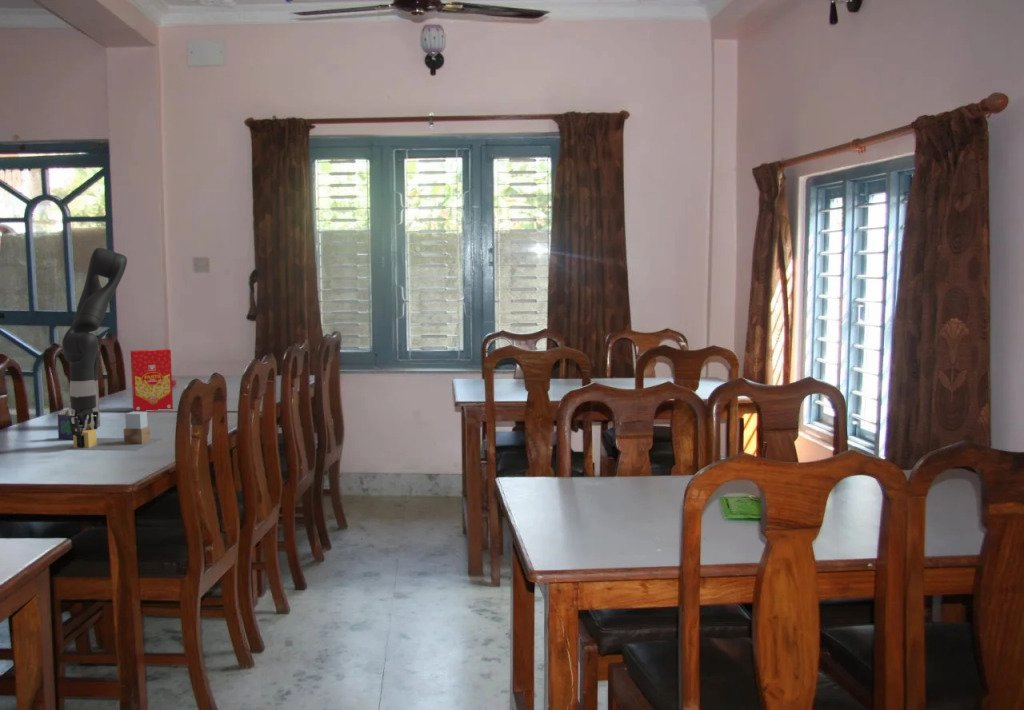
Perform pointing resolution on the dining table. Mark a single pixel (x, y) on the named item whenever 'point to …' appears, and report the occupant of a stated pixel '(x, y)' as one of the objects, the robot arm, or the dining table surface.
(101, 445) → the slate mat
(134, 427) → the tower mid
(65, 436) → the flask
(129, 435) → the tower base
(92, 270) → the robot arm
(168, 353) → the food packaging
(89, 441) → the ochre block
